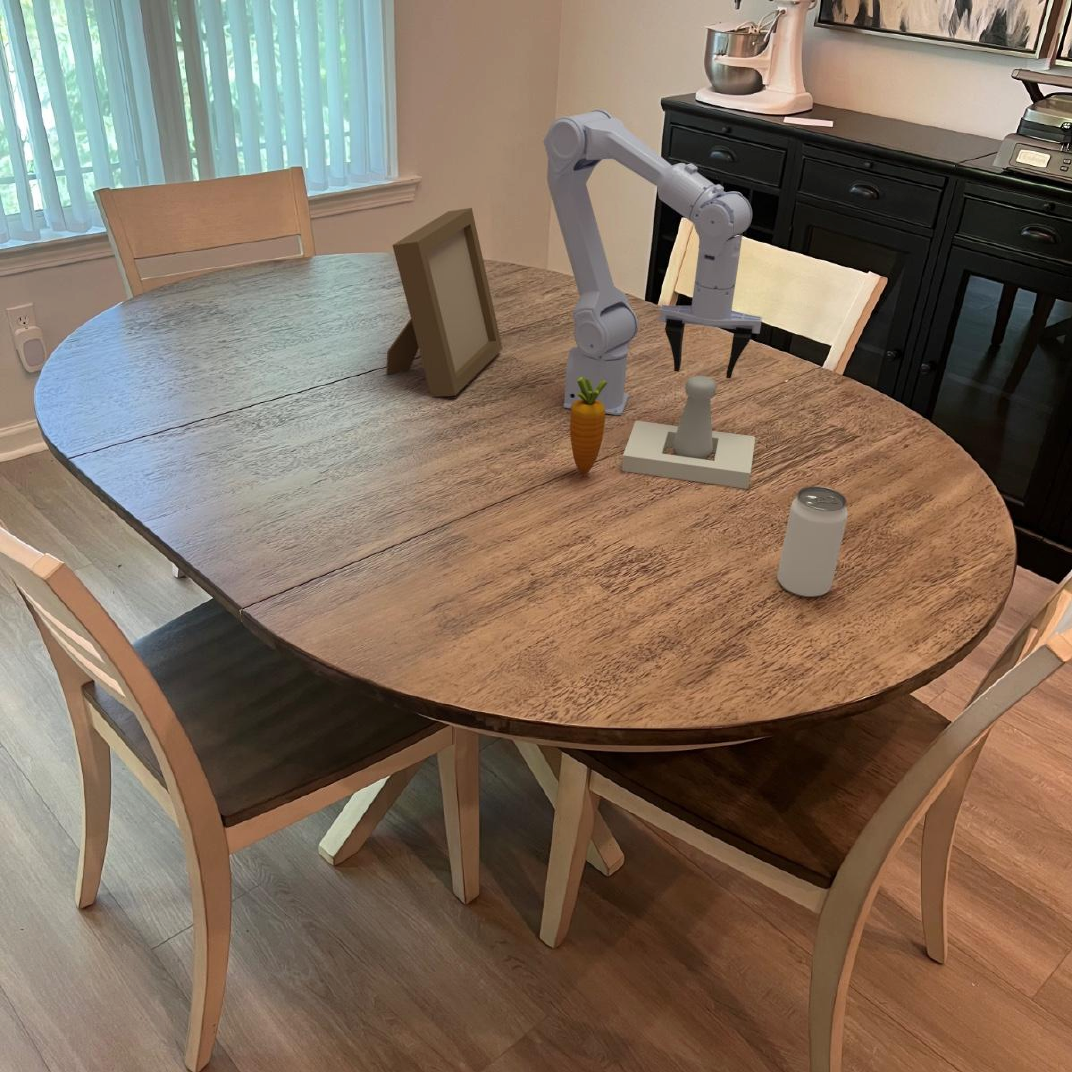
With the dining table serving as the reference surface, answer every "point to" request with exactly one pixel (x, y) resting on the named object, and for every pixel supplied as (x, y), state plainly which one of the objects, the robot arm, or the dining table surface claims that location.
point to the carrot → (587, 425)
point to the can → (812, 541)
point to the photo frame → (445, 304)
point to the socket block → (724, 470)
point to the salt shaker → (696, 420)
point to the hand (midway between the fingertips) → (702, 372)
